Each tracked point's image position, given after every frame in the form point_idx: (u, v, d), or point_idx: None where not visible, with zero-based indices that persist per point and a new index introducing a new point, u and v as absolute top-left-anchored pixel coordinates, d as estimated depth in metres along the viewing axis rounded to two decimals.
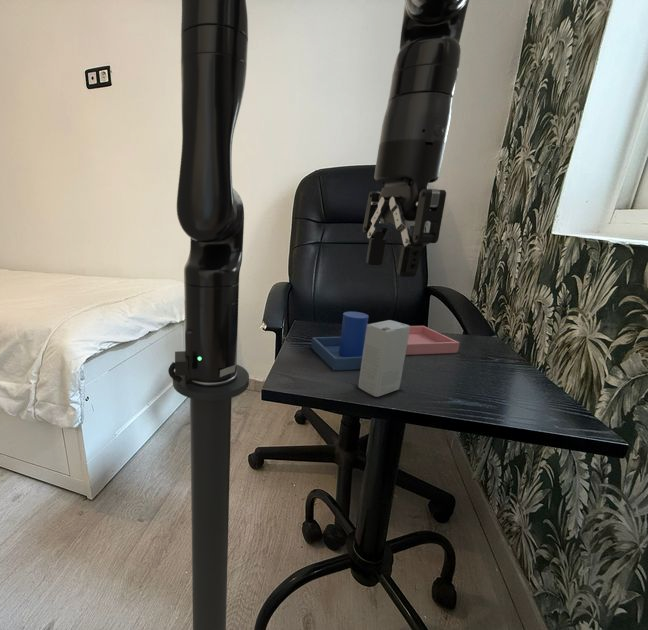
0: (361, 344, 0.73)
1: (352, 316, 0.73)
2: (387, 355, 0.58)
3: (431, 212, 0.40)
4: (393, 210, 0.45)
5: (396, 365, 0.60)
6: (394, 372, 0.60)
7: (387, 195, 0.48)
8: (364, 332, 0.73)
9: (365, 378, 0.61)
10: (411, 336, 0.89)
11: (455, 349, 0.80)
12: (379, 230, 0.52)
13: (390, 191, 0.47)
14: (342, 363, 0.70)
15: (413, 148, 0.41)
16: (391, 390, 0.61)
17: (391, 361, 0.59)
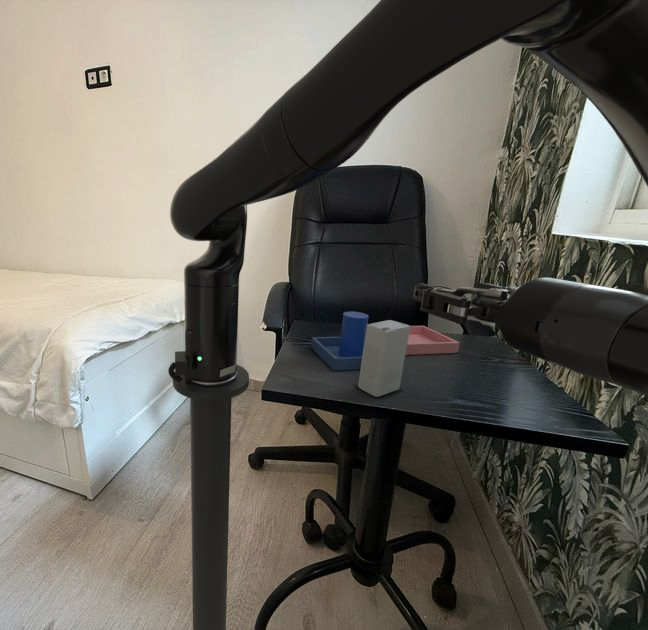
0: (361, 344, 0.73)
1: (352, 316, 0.73)
2: (387, 355, 0.58)
3: (442, 304, 0.38)
4: (488, 289, 0.38)
5: (396, 365, 0.60)
6: (394, 372, 0.60)
7: None
8: (364, 332, 0.73)
9: (365, 378, 0.61)
10: (411, 336, 0.89)
11: (455, 349, 0.80)
12: None
13: None
14: (342, 363, 0.70)
15: (538, 307, 0.32)
16: (391, 390, 0.61)
17: (391, 361, 0.59)
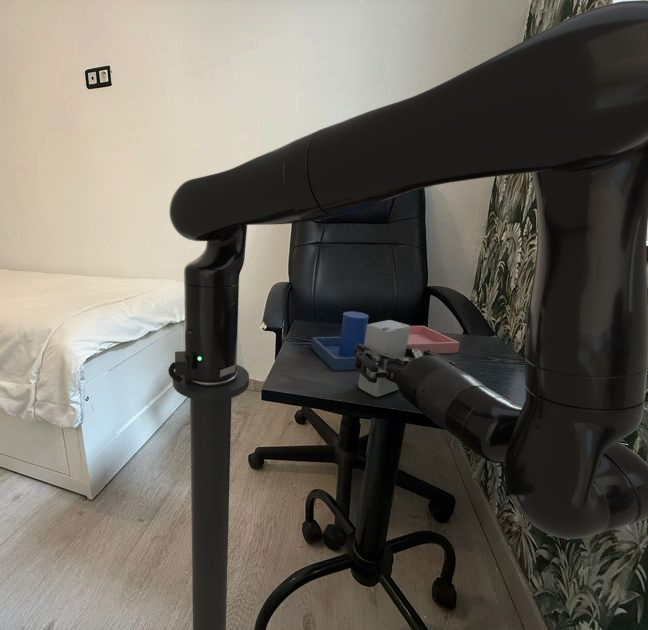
0: None
1: (352, 316, 0.73)
2: None
3: (363, 367, 0.54)
4: (397, 357, 0.54)
5: None
6: None
7: None
8: (364, 332, 0.73)
9: (365, 378, 0.61)
10: (411, 336, 0.89)
11: (455, 349, 0.80)
12: None
13: None
14: (342, 363, 0.70)
15: (416, 379, 0.47)
16: (391, 390, 0.61)
17: None
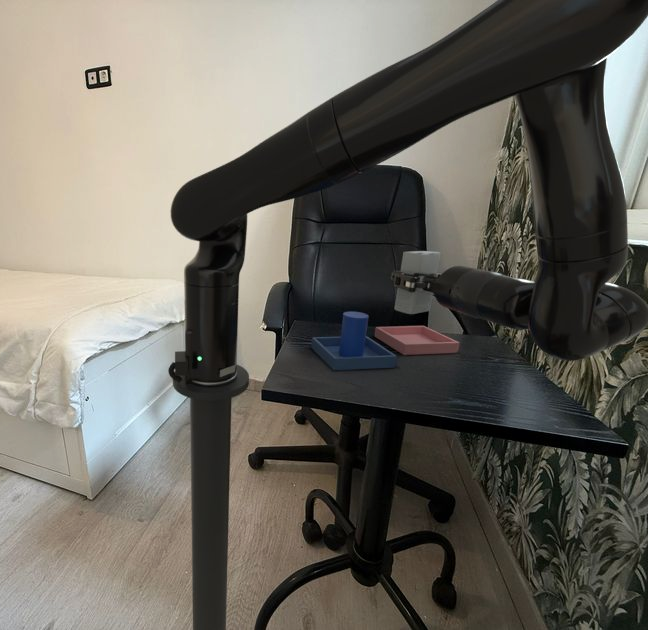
0: (361, 344, 0.73)
1: (352, 316, 0.73)
2: (422, 276, 0.68)
3: (403, 281, 0.65)
4: (432, 273, 0.65)
5: None
6: (426, 293, 0.71)
7: None
8: (364, 332, 0.73)
9: (401, 300, 0.72)
10: (411, 336, 0.89)
11: (455, 349, 0.80)
12: None
13: None
14: (342, 363, 0.70)
15: (451, 281, 0.58)
16: (423, 310, 0.72)
17: None
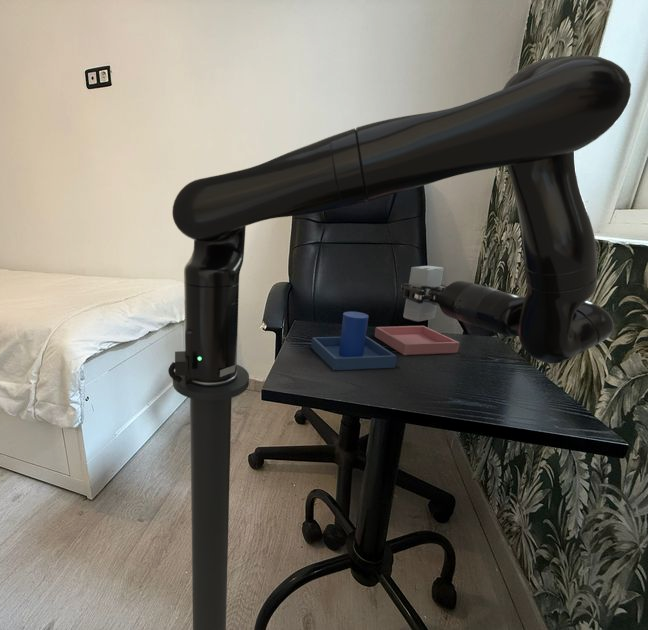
0: (361, 344, 0.73)
1: (352, 316, 0.73)
2: None
3: (412, 294, 0.75)
4: (437, 286, 0.75)
5: None
6: (431, 303, 0.81)
7: None
8: (364, 332, 0.73)
9: (409, 309, 0.82)
10: (411, 336, 0.89)
11: (455, 349, 0.80)
12: None
13: None
14: (342, 363, 0.70)
15: (454, 294, 0.68)
16: (429, 318, 0.82)
17: None
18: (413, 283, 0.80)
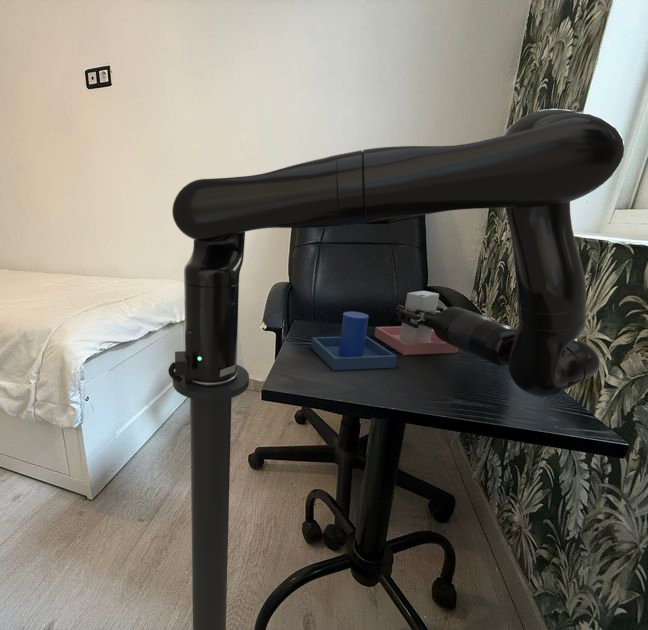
0: (361, 344, 0.73)
1: (352, 316, 0.73)
2: (423, 314, 0.80)
3: (407, 318, 0.76)
4: None
5: None
6: (427, 328, 0.82)
7: None
8: (364, 332, 0.73)
9: (405, 333, 0.84)
10: None
11: (455, 349, 0.80)
12: None
13: None
14: (342, 363, 0.70)
15: (448, 321, 0.70)
16: (424, 342, 0.83)
17: None
18: None
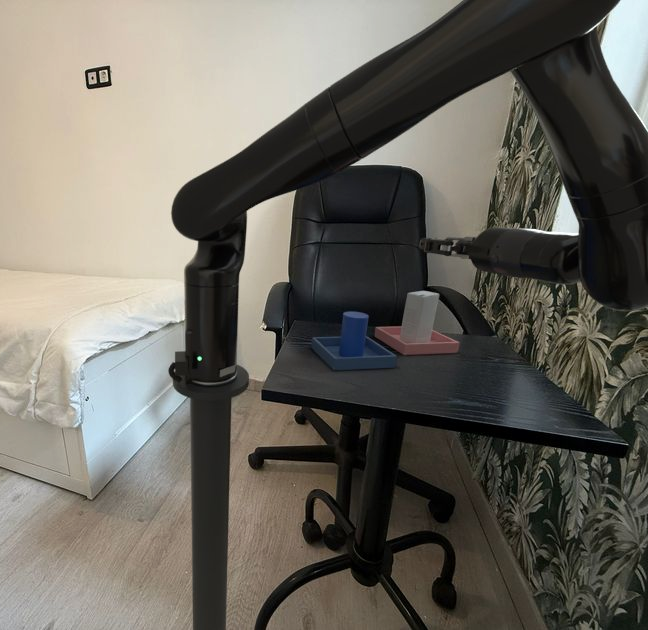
0: (361, 344, 0.73)
1: (352, 316, 0.73)
2: (423, 314, 0.80)
3: (437, 246, 0.64)
4: (465, 237, 0.64)
5: (429, 323, 0.82)
6: (427, 328, 0.82)
7: None
8: (364, 332, 0.73)
9: (405, 333, 0.84)
10: None
11: (455, 349, 0.80)
12: None
13: None
14: (342, 363, 0.70)
15: (489, 241, 0.57)
16: (424, 342, 0.83)
17: (425, 319, 0.81)
18: (409, 309, 0.82)
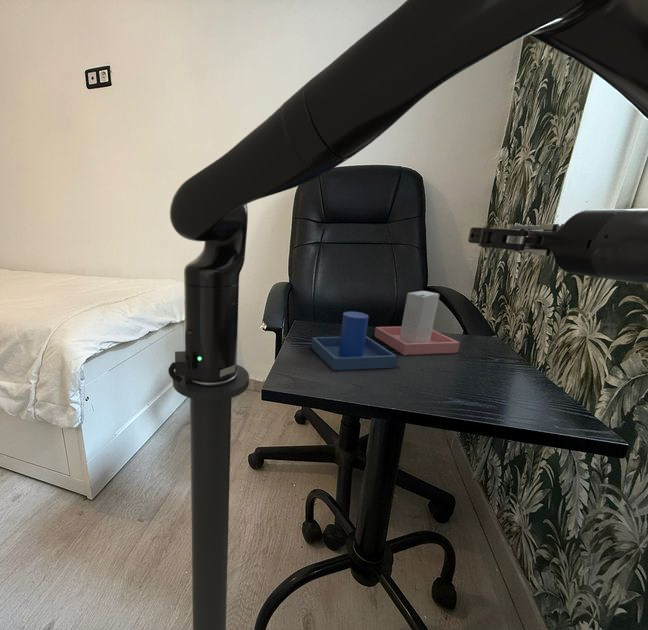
0: (361, 344, 0.73)
1: (352, 316, 0.73)
2: (423, 314, 0.80)
3: (501, 237, 0.45)
4: None
5: (429, 323, 0.82)
6: (427, 328, 0.82)
7: None
8: (364, 332, 0.73)
9: (405, 333, 0.84)
10: None
11: (455, 349, 0.80)
12: None
13: None
14: (342, 363, 0.70)
15: (590, 228, 0.39)
16: (424, 342, 0.83)
17: (425, 319, 0.81)
18: (409, 309, 0.82)
